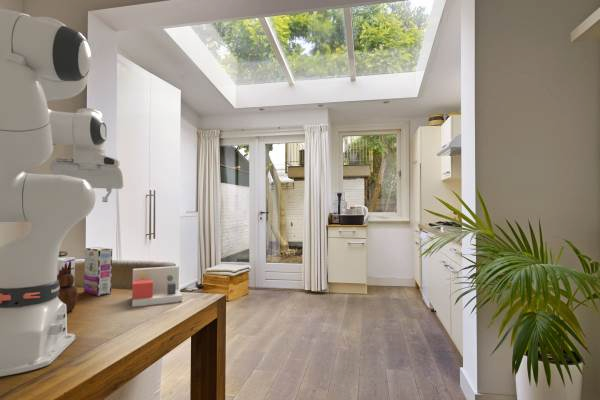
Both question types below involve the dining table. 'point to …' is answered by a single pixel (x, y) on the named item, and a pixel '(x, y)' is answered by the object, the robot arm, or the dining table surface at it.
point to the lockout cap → (142, 289)
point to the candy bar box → (98, 271)
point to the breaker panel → (158, 298)
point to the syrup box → (66, 260)
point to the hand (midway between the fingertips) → (88, 202)
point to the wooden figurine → (67, 288)
